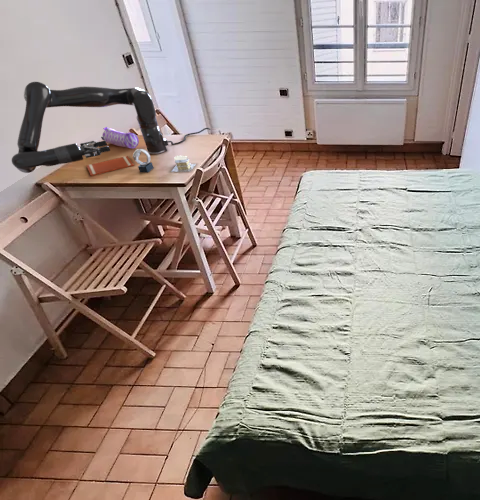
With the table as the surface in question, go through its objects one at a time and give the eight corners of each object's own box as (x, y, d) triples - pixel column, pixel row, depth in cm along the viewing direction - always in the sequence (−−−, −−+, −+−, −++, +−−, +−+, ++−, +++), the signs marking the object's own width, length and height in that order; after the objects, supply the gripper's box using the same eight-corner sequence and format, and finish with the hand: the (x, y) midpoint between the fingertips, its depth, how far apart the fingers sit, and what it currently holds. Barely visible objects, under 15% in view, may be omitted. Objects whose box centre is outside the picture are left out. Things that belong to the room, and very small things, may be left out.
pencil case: (103, 145, 222) (97, 129, 216) (117, 139, 229) (111, 124, 223) (129, 151, 214) (123, 135, 208) (143, 145, 221) (137, 129, 215)
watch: (142, 167, 197) (134, 147, 191) (156, 168, 197) (149, 147, 190) (136, 172, 193) (128, 151, 186) (151, 172, 192) (143, 152, 185)
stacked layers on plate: (196, 164, 200) (193, 154, 197) (190, 171, 193) (187, 161, 189) (177, 164, 200) (174, 154, 197) (170, 171, 193) (167, 161, 190)
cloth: (128, 156, 208) (127, 155, 208) (133, 165, 199) (133, 164, 199) (86, 166, 199) (86, 165, 199) (91, 176, 190) (90, 174, 190)
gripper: (66, 150, 165) (107, 142, 172) (62, 141, 174) (102, 133, 182) (73, 166, 169) (113, 157, 177) (70, 156, 178) (108, 148, 186)
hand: (107, 145), depth 179 cm, fingers open, 8 cm apart
